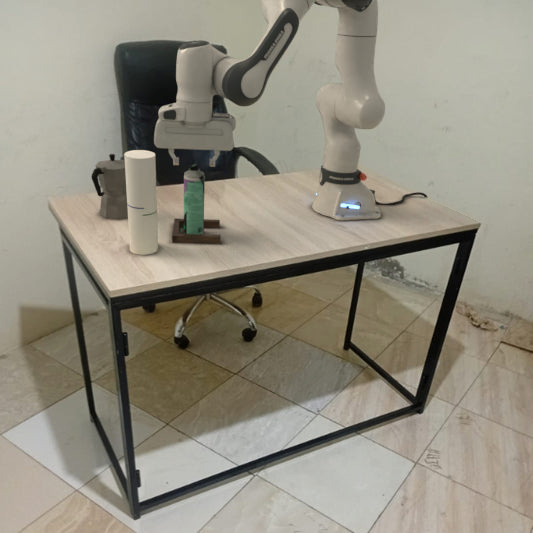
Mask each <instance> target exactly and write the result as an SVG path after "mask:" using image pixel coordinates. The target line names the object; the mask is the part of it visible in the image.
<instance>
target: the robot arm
mask: <svg viewBox="0 0 533 533" xmlns="http://www.w3.org/2000/svg"><path fill="white" fill-rule="evenodd" d="M314 4H315V5H317V6H324V7H329V8H334V9H337V12H338V24H337V33H336V40H335V41H336V42H335V53H334V64H335V67H336V69H337V71H338V72H339V75H340V78H341V82H329V83H328V82H327V83H325V84H324V85H323V86H321V87H320V88H319V90H318V91H317V94H316V97H315V106H316V108H317V111H318V112H319V114H320V117H321V121H322V125H323V132H324V133H323V134H324V149H323V158H322V165H321V166H320V170H319V175H318V183H319V185H318V189H317V192H316V193H315V198H314V200H313V203H312V205H311V209H312V210H313V211H314V212H316V213H318V214H320V215H322V216H325V217H329V218H332V219H334V220H336V221H358V220H376V219H380V218H381V215H382V212H381V210H380V208H379V207H378V205H379V206H395V205H398V204H401V203H403V202H404V201H405V200H406V198H407V197H412V196H423V197H424V198H426V199H428V198H429V197H428V195H427V194H426V193H424V192H417V191H416V192H411V193H407V194H404V195H402V197H401V199H400V200H397V201H392V202H388V203H382V202H379V201H377V199H376V195H375V194H376V190H373V189H370V188H369V187H368V186H367V185H366V184H365V183H363V181H366V180H367V179H368V176H367V174H365V173H364V172H362V171H361V170H360V169H358V167H359V161H360V154H361V143H360V140H359V139H358V137H357V134H356V130H355V129H357V130H373V129H375V128H377V127H378V126H379V125H380V124H381V123H382V121H383V119H384V118H385V114H386V104H385V101H384V99H383V98H382V97H381V94H380V92H379V90H378V86H377V82H376V81H377V80H376V76H375V53H376V44H377V37H378V25H379V4H378V0H261V4H260V6H261V12H262V16H263V18H264V19H265V21H266V23H267V25H268V26H267V30H266V31H265V33H264V35H263V36H262V37H261V39H260V40H259V42H258V44H257V45H256V46H255V48H254V50H253V51H252V53H251V54H250V55H249V56H247V57H245V58H242V59H238V58H236V57H232V56H230V55H228V54H226V53H224V52H222V51H220V50H219V49H218V48H216V47H214V46H213V45H212V44H211V42H210V41H207V40H201V39H200V40H189V41H186V42H183V43H182V44H181V45H180V46H179V47H178V50H177V54H176V64H175V66H176V67H175V80H176V85H177V92H176V96H175V98H176V99H175V101H176V102H173V103H169V104H165V105H162V106H161V107H160V108H159V109H158V119H157V121H156V123H155V128H154V135H153V144H154V146H155V147H156V148H157V149H168V154H169V156H170V157H171V159H172V165H173V166H180V157H179V156H176V154H175V150H196V151H197V150H198V151H199V150H201V151H214V152H213V153H214V155H213V157H212V158H210V157H209V167H211V168H212V167H213V168H215V167H216V161H217V159H218V158H219V156H220V155H221V154H220V153H221V152H222V151H223V152H224V151H225V152H230V151H232V150H233V149H234V145H235V144H234V130H235V129H236V125H237V124H236V123H237V121H236V118H235V116H234V115H232V114H231V113H228V112H224V113H223V112H213V99H214V96H220V97H221V98H224V99H226V100H228V101H230V102H231V103H233V104H235V105H237V106H239V107H249V106H253V105H254V104H255V103H257V102H258V101H259V100H260V99H261V98H262V96H263V94H264V92H265V89H266V86H267V84H268V81H269V79H270V76H271V75H272V72H273V71H274V70H275V68H276V66H278V63H279V62H280V60H281V59H282V58H283V57H284V54H285V53H286V51H288V48H289V46H290V45H291V43H292V42H293V40H294V38H295V36H296V35H297V33H298V30H299V27H300V23H301V21H302V20H303V19H304V17H305V16H306V15H307V13H308V12H309V10H310V9H311V8H312V7H313V5H314Z"/></svg>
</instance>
